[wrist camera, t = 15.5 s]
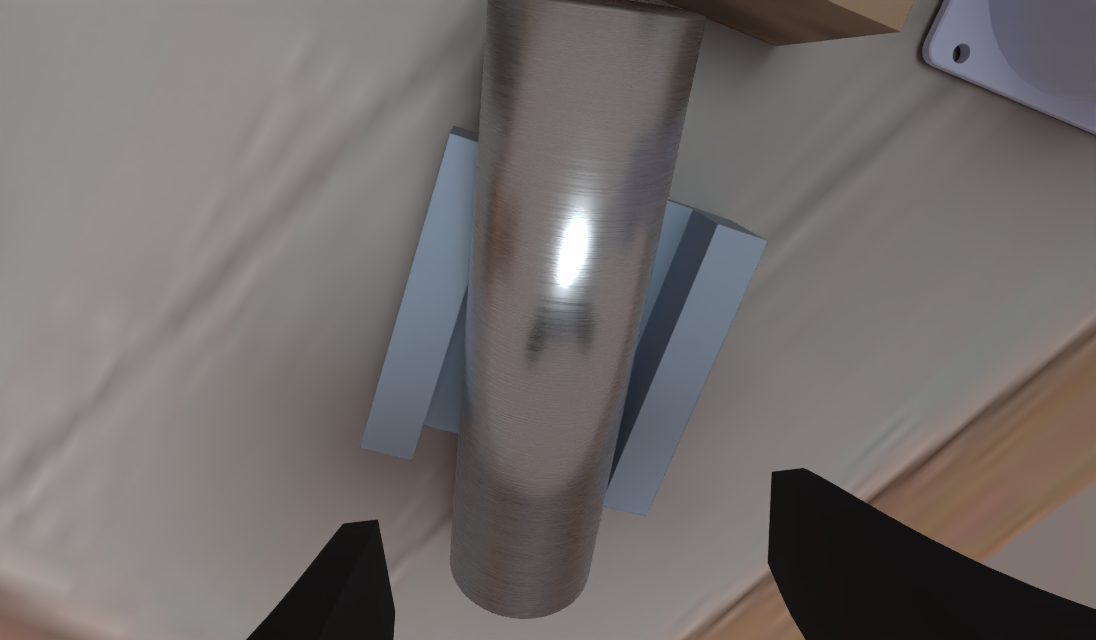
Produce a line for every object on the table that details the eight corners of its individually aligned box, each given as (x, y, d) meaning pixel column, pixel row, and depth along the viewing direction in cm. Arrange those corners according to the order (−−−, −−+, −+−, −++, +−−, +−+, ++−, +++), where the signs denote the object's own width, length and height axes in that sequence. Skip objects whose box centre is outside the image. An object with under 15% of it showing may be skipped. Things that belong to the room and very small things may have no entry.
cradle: (731, 220, 21) (767, 240, 18) (626, 467, 23) (646, 516, 21) (453, 126, 19) (450, 133, 17) (373, 403, 22) (359, 448, 19)
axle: (647, 0, 16) (749, 26, 13) (562, 498, 24) (611, 602, 20) (467, -20, 15) (524, 2, 11) (438, 517, 22) (466, 632, 19)
